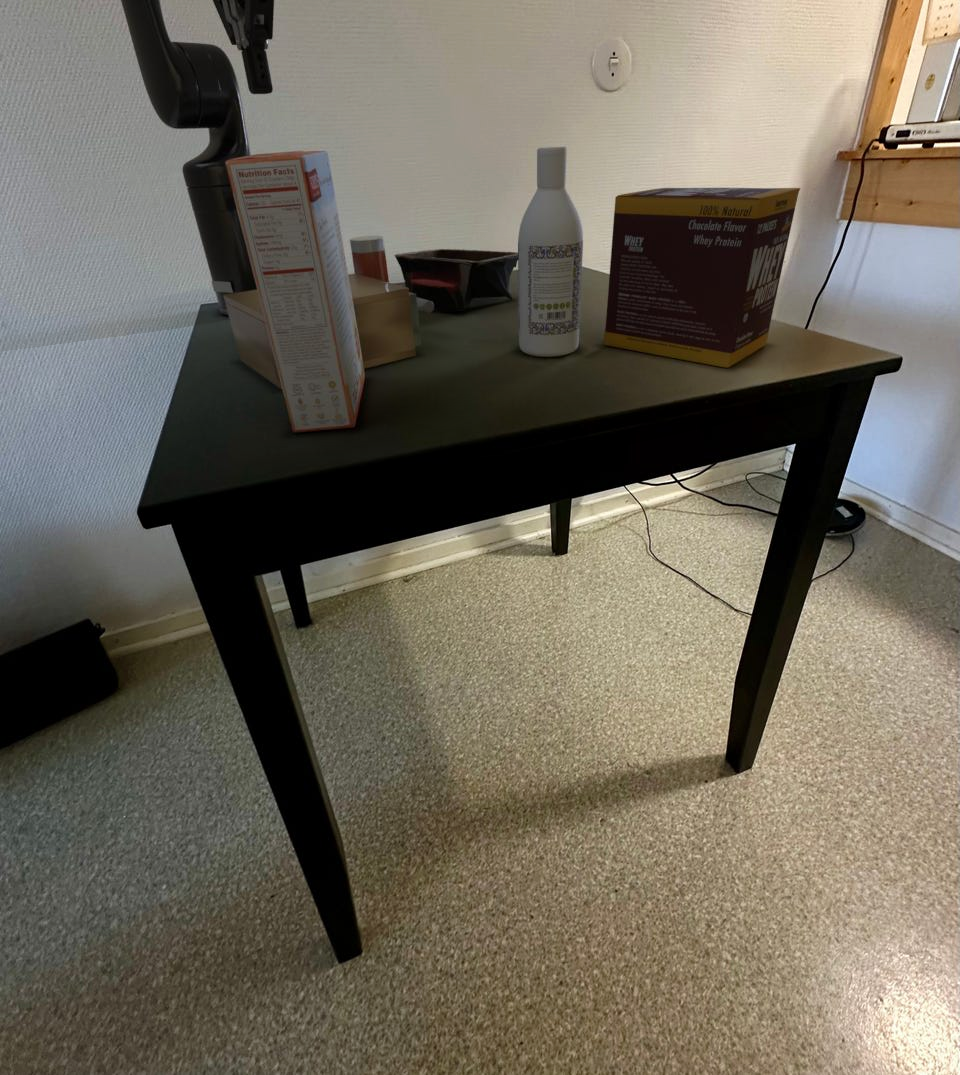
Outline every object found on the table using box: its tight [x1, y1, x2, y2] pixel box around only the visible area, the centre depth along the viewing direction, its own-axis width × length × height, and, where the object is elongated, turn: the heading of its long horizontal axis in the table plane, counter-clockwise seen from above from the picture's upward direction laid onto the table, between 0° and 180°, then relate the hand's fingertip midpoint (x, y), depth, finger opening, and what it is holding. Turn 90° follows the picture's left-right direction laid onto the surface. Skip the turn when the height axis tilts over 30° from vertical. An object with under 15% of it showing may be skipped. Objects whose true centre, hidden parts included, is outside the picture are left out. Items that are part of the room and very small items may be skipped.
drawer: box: [409, 292, 434, 347], centre depth 72 cm, size 20×12×6 cm, turn 126°
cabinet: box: [224, 273, 417, 390], centre depth 70 cm, size 17×14×8 cm
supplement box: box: [603, 187, 801, 369], centre depth 65 cm, size 10×15×16 cm
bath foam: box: [517, 146, 584, 358], centre depth 65 cm, size 7×7×20 cm
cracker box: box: [225, 150, 366, 433], centre depth 53 cm, size 14×6×21 cm, turn 5°
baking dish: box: [394, 248, 518, 312], centre depth 91 cm, size 14×18×10 cm
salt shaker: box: [349, 235, 390, 283], centre depth 82 cm, size 4×4×11 cm
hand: (261, 93), depth 67 cm, fingers closed
